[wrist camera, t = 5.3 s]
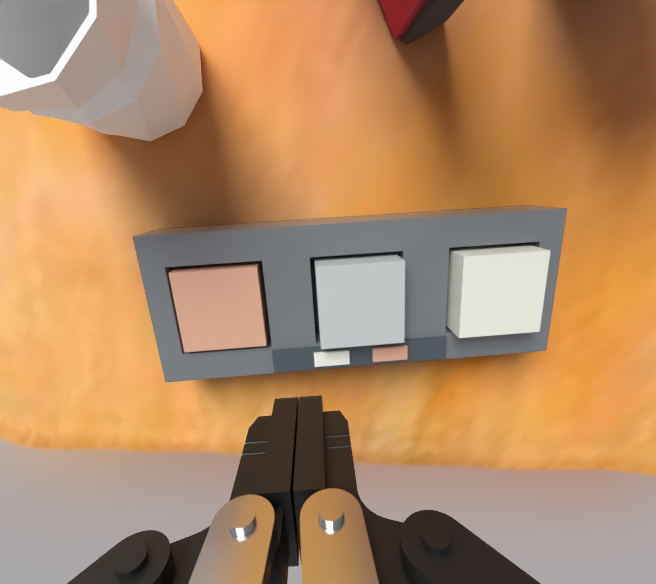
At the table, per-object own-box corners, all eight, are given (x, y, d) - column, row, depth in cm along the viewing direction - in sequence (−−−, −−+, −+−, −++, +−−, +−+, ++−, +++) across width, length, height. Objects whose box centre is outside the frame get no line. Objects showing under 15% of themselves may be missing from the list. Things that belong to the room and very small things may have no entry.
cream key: (521, 242, 24) (550, 250, 21) (513, 315, 26) (539, 331, 23) (444, 247, 24) (463, 256, 21) (441, 320, 25) (458, 338, 22)
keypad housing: (528, 205, 26) (572, 208, 21) (514, 328, 29) (550, 353, 24) (159, 228, 25) (128, 237, 20) (184, 354, 28) (162, 386, 23)
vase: (33, 70, 21) (-282, -63, 10) (112, -56, 20) (-151, -387, 8) (154, 171, 23) (11, 159, 12) (235, 65, 22) (158, -67, 10)
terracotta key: (262, 257, 24) (256, 266, 21) (270, 327, 26) (266, 345, 23) (184, 262, 24) (168, 273, 21) (197, 333, 26) (184, 352, 23)
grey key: (393, 251, 24) (405, 260, 21) (393, 324, 25) (404, 342, 22) (314, 257, 23) (315, 267, 20) (319, 330, 25) (321, 349, 22)
